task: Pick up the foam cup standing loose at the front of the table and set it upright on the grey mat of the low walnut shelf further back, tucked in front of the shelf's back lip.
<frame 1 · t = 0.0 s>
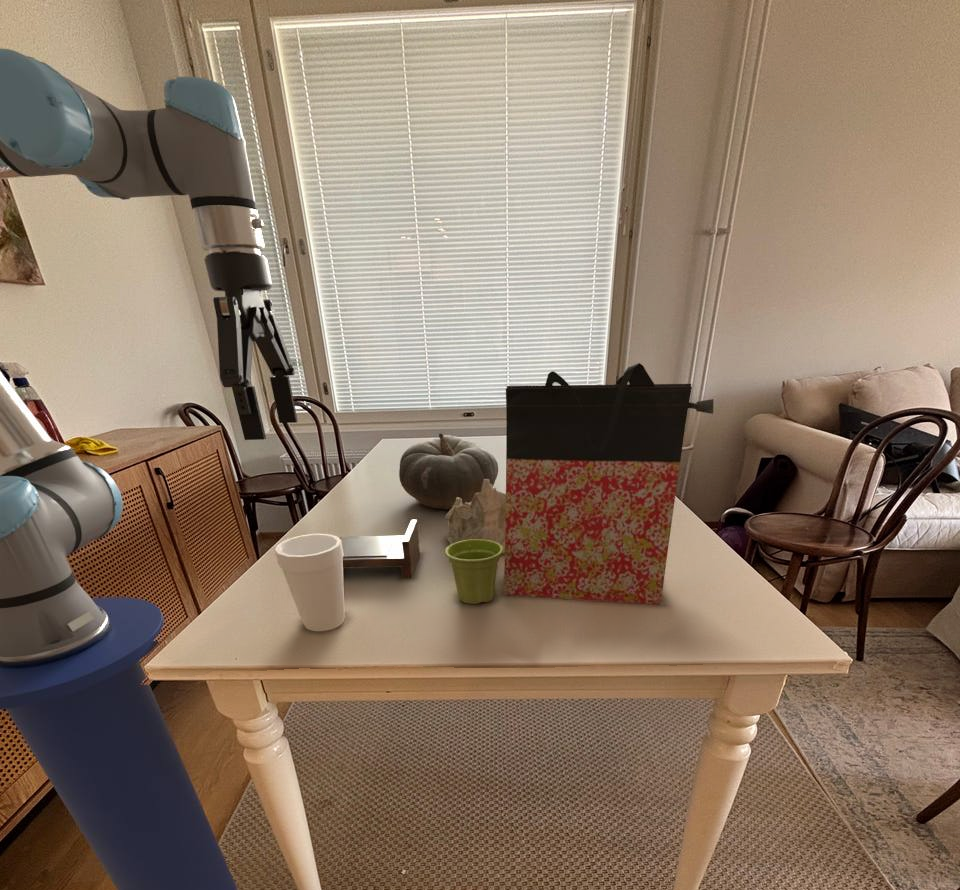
hand: (273, 430, 79), 28 cm above the table, tool pointing down, fingers open, 13 cm apart
shelf: (375, 566, 104), on the table
foam cup: (324, 622, 86), on the table
plant pot: (475, 597, 92), on the table
gourd: (452, 502, 140), on the table
ceramic cottage: (489, 542, 114), on the table
gift bag: (591, 590, 93), on the table
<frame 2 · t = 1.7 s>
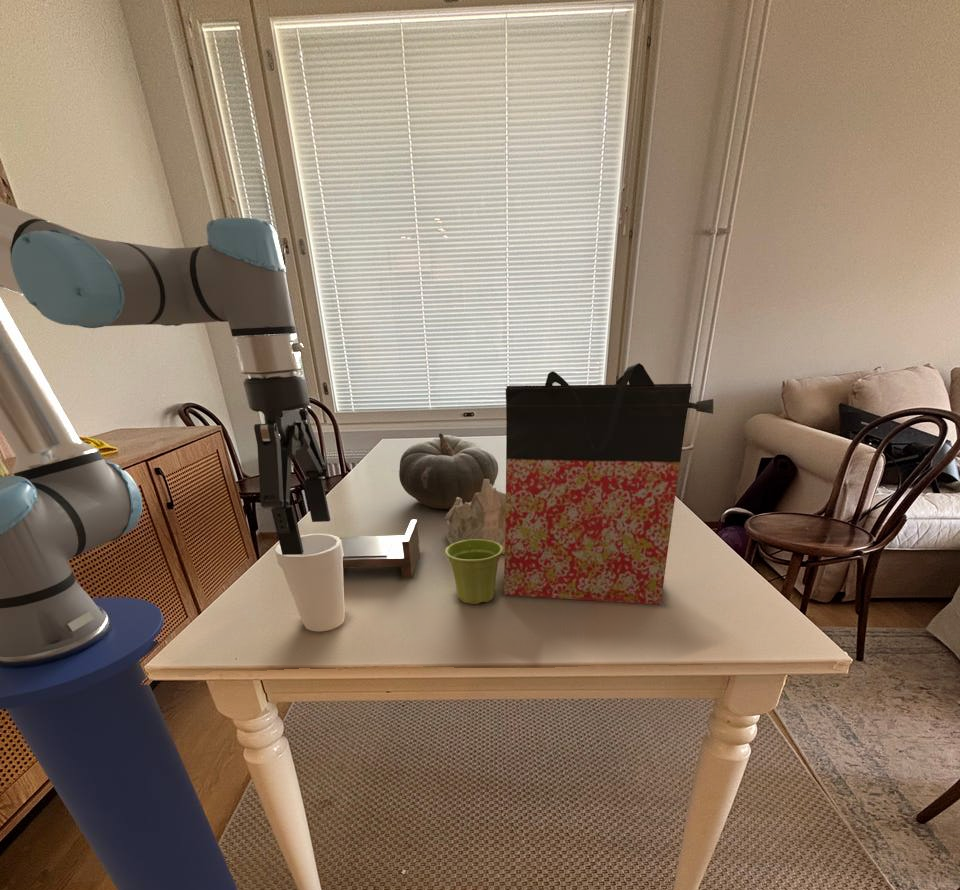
hand: (308, 536, 78), 14 cm above the table, tool pointing down, fingers open, 13 cm apart
nothing on the table moved.
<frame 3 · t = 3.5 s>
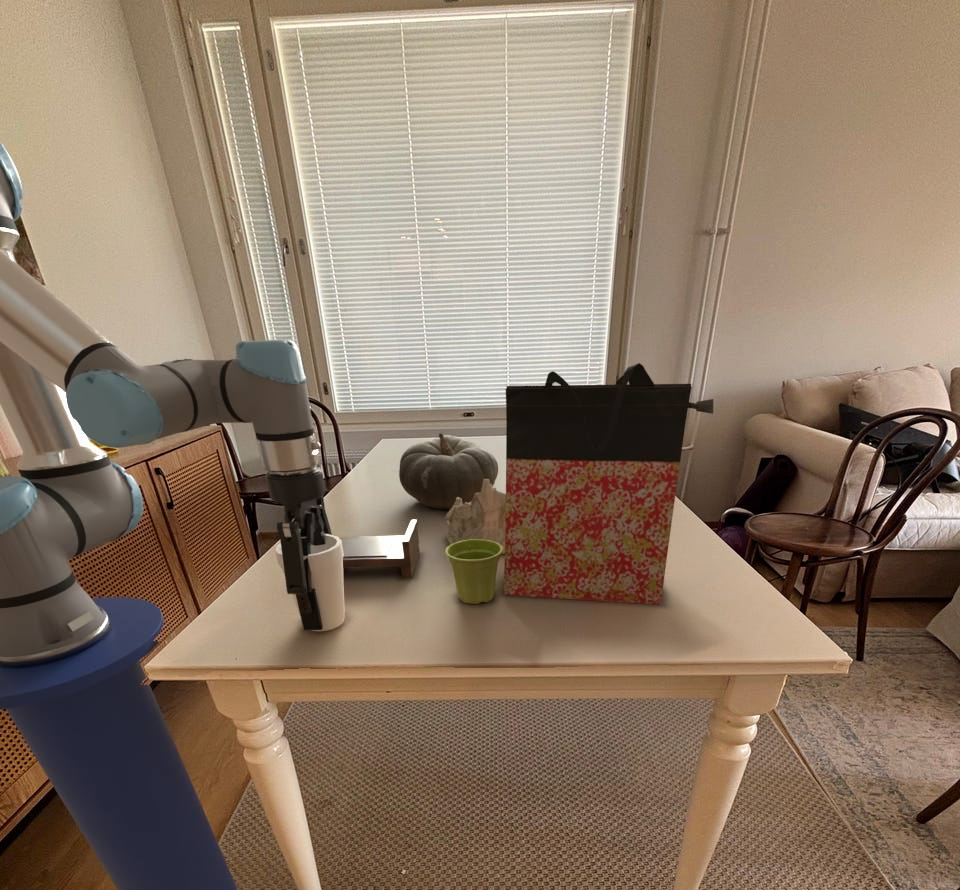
hand: (322, 612, 85), 2 cm above the table, tool pointing down, fingers closed on foam cup, 9 cm apart
foam cup: (324, 622, 86), on the table, touching gripper
everything else where it was.
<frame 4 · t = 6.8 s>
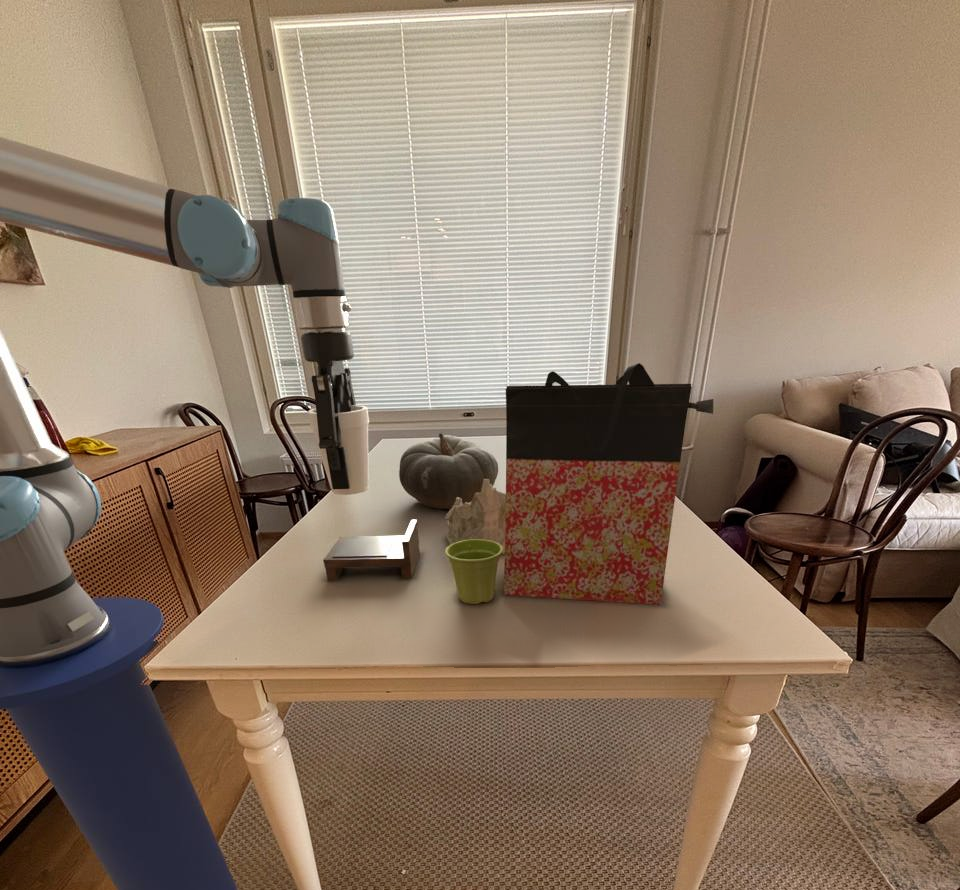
hand: (348, 480, 93), 17 cm above the table, tool pointing down, fingers closed on foam cup, 9 cm apart
foam cup: (350, 490, 94), point 16 cm above the table, touching gripper
everything else where it was.
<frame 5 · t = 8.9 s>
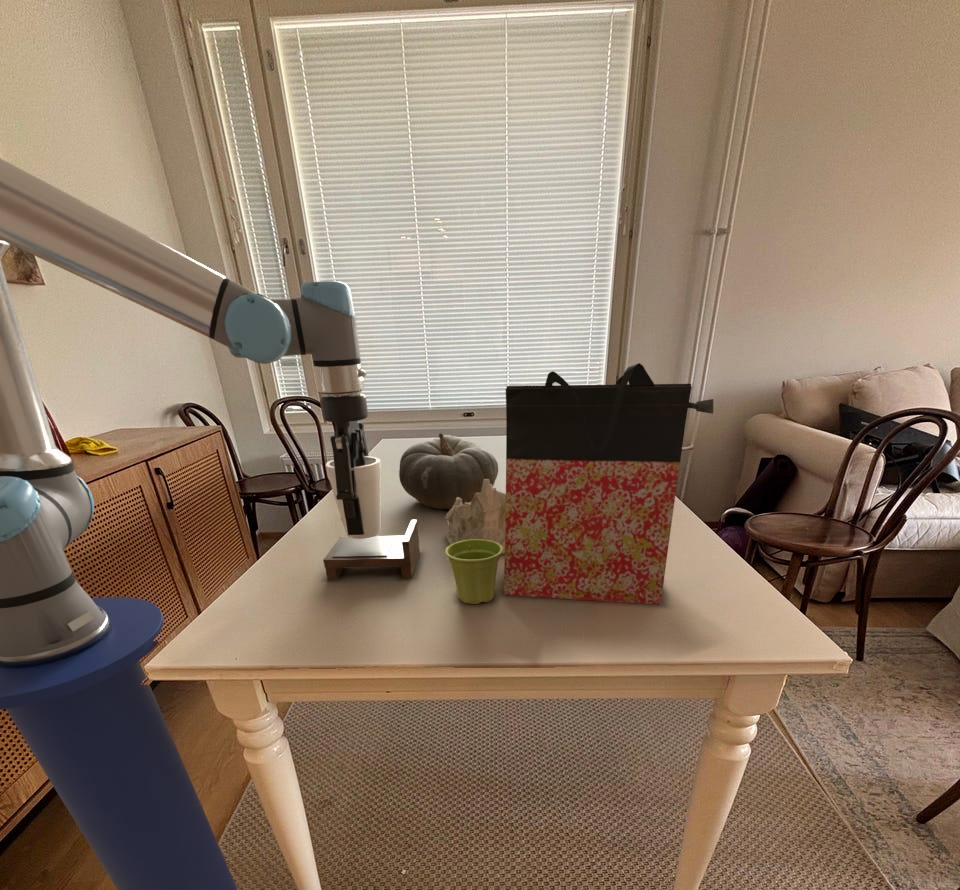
hand: (362, 524, 100), 8 cm above the table, tool pointing down, fingers closed on foam cup, 9 cm apart
foam cup: (363, 533, 101), point 7 cm above the table, touching gripper
everything else where it was.
when the fingers open (6 cm above the table, at t = 10.2 s): foam cup stays where it is, resting on shelf.
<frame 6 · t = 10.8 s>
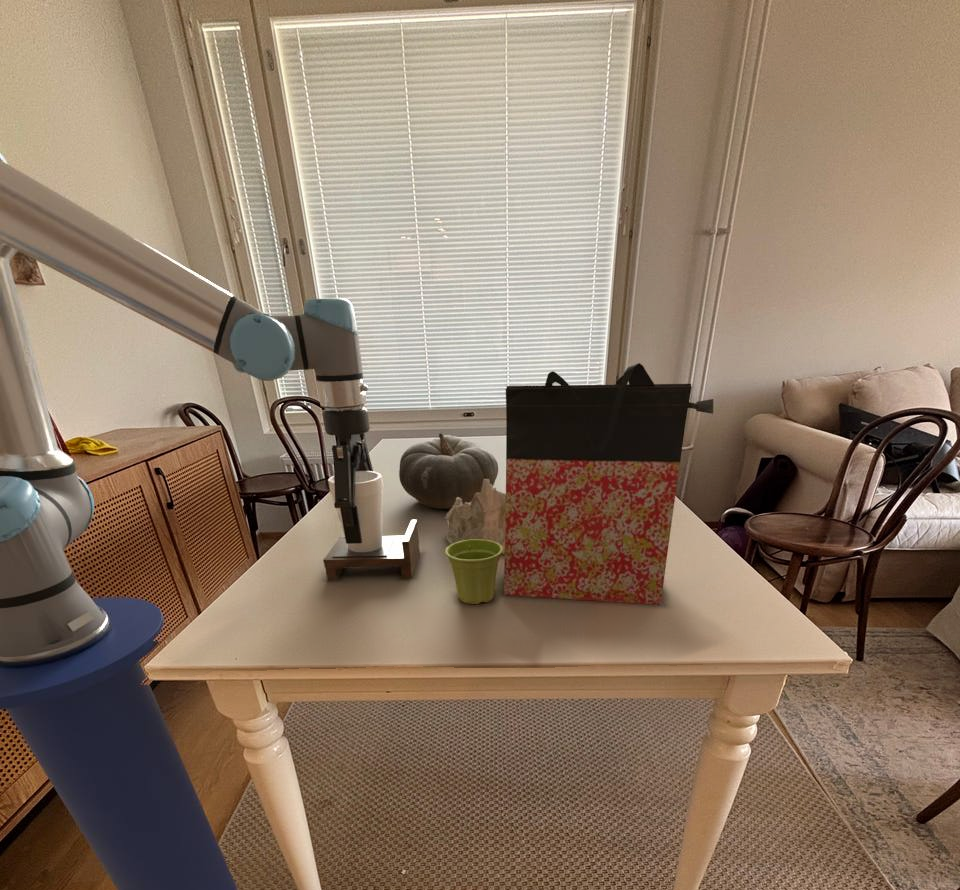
hand: (362, 529, 101), 7 cm above the table, tool pointing down, fingers open, 13 cm apart
foam cup: (365, 547, 102), point 4 cm above the table, touching shelf
everything else where it was.
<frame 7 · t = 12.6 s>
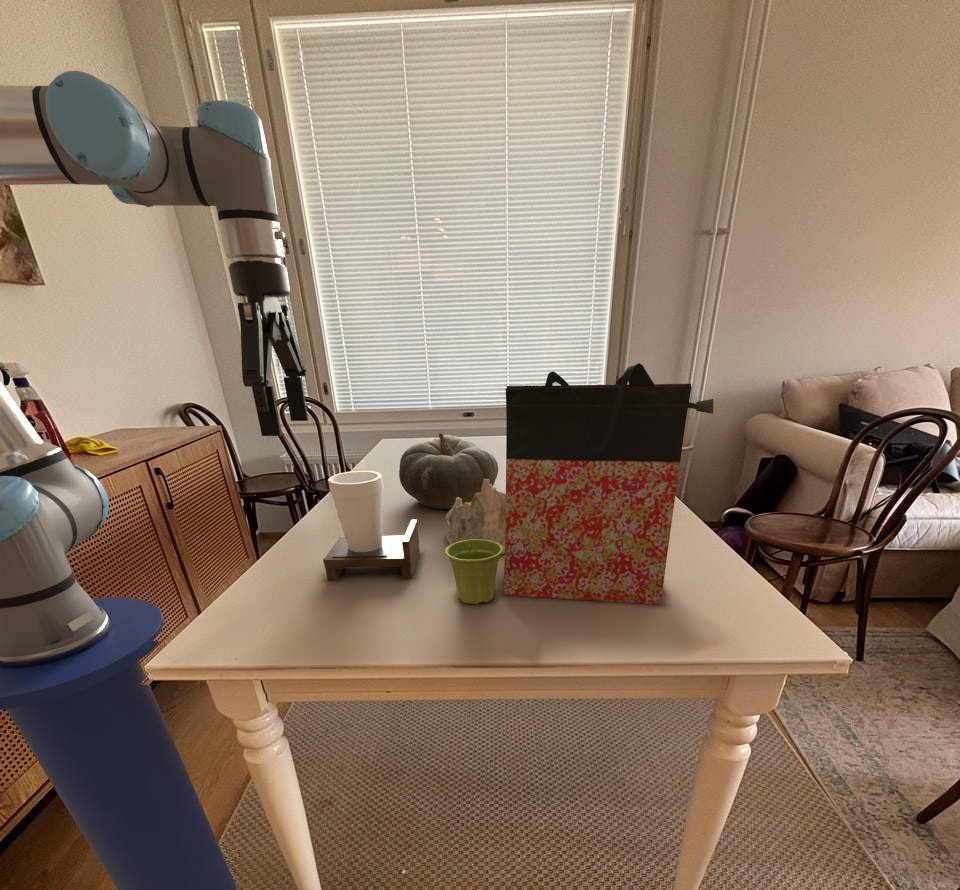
hand: (286, 427, 84), 27 cm above the table, tool pointing down, fingers open, 13 cm apart
nothing on the table moved.
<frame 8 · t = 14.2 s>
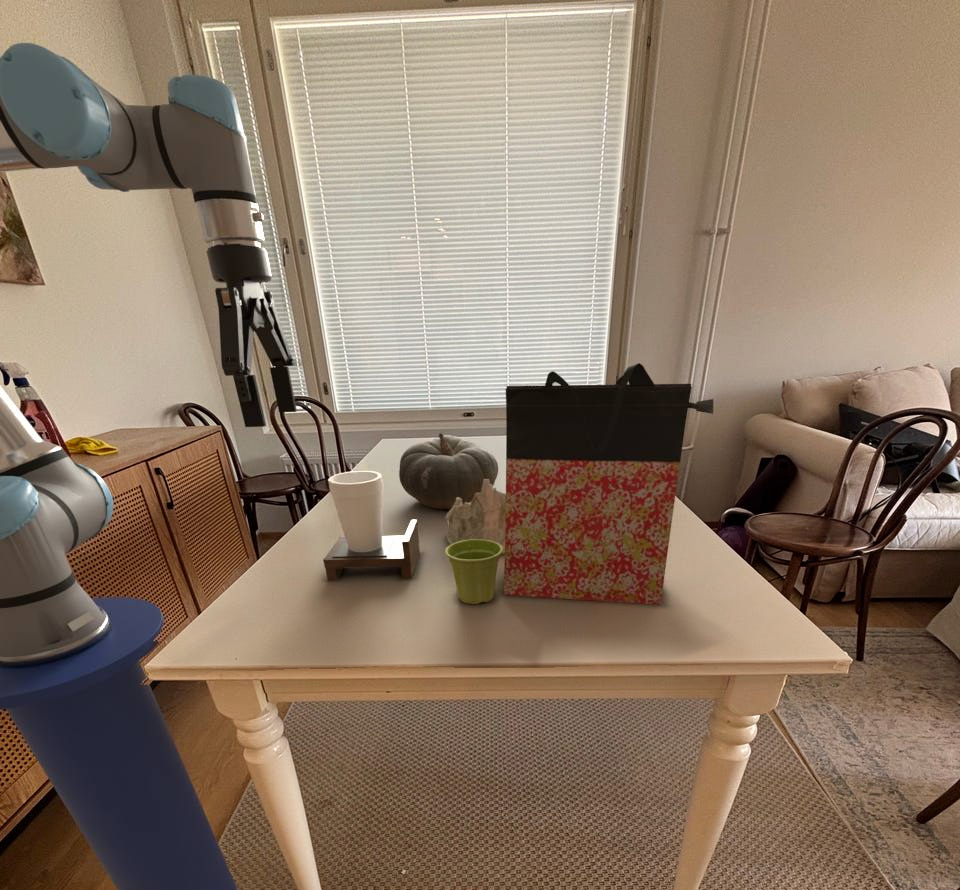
hand: (273, 418, 81), 29 cm above the table, tool pointing down, fingers open, 13 cm apart
nothing on the table moved.
at the end: foam cup inside the target area on the shelf (0.1 cm from its centre), point 4.0 cm above the shelf's base; foam cup tilted 0° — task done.
